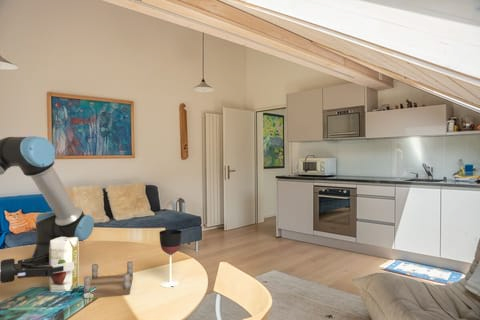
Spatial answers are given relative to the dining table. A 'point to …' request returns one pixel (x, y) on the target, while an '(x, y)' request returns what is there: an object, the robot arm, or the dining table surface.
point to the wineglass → (170, 249)
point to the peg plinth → (109, 283)
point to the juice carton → (64, 253)
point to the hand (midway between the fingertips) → (71, 260)
